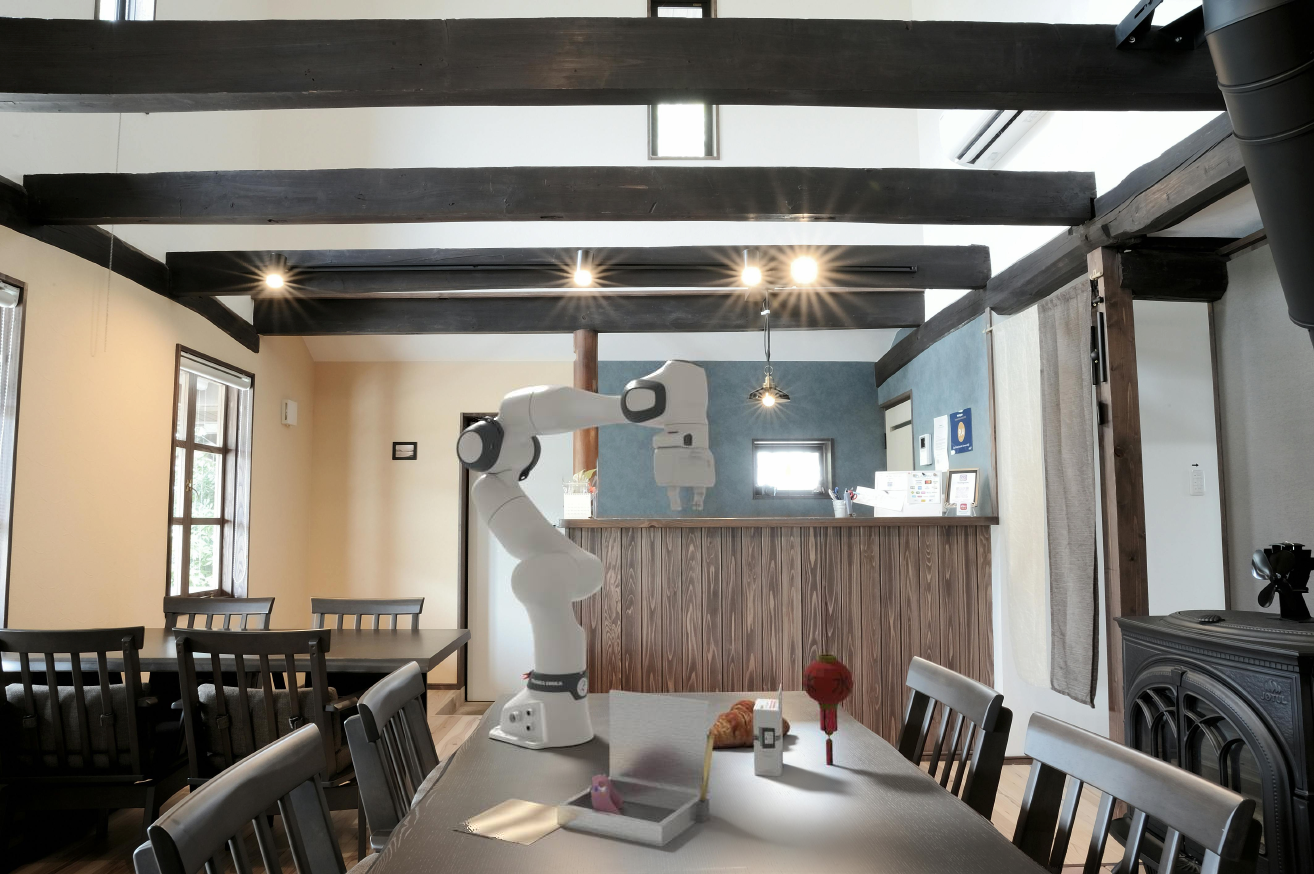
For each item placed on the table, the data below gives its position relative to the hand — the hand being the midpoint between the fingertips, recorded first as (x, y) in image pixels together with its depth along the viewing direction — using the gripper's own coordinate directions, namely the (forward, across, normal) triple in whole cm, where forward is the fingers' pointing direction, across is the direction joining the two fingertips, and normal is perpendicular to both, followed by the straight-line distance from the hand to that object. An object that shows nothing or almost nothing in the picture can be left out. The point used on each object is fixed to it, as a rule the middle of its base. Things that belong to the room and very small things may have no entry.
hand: (687, 509), depth 165 cm
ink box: (+48, 0, +16) cm, 51 cm away
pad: (+48, +43, -8) cm, 64 cm away
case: (+48, +34, +7) cm, 59 cm away
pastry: (+48, -16, +5) cm, 51 cm away
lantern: (+48, -8, +25) cm, 55 cm away
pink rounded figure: (+48, +35, +4) cm, 59 cm away
